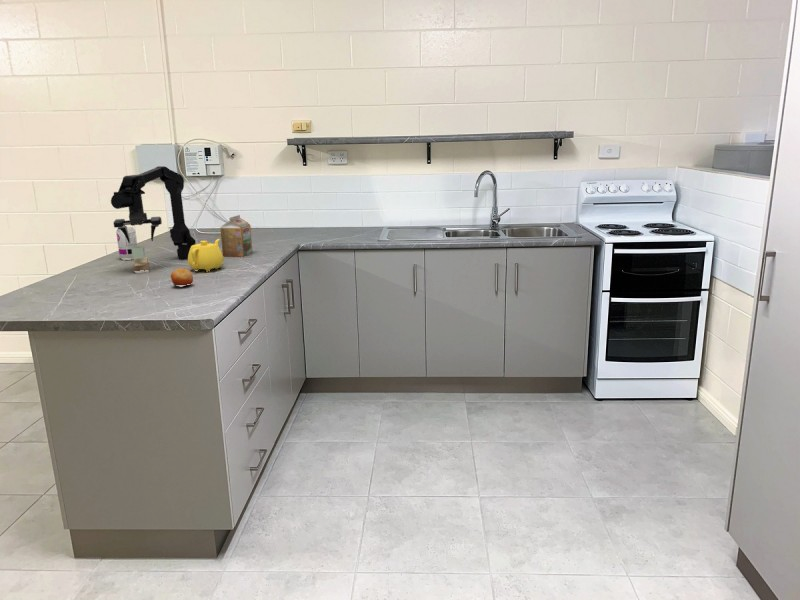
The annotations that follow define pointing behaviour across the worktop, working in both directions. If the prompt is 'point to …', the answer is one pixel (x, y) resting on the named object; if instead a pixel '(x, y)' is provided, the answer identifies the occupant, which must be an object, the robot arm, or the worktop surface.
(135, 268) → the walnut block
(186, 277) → the fruit
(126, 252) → the supplement can
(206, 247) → the teapot
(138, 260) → the maple block
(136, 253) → the sage cube
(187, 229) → the robot arm
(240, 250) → the milk carton
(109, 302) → the worktop surface
